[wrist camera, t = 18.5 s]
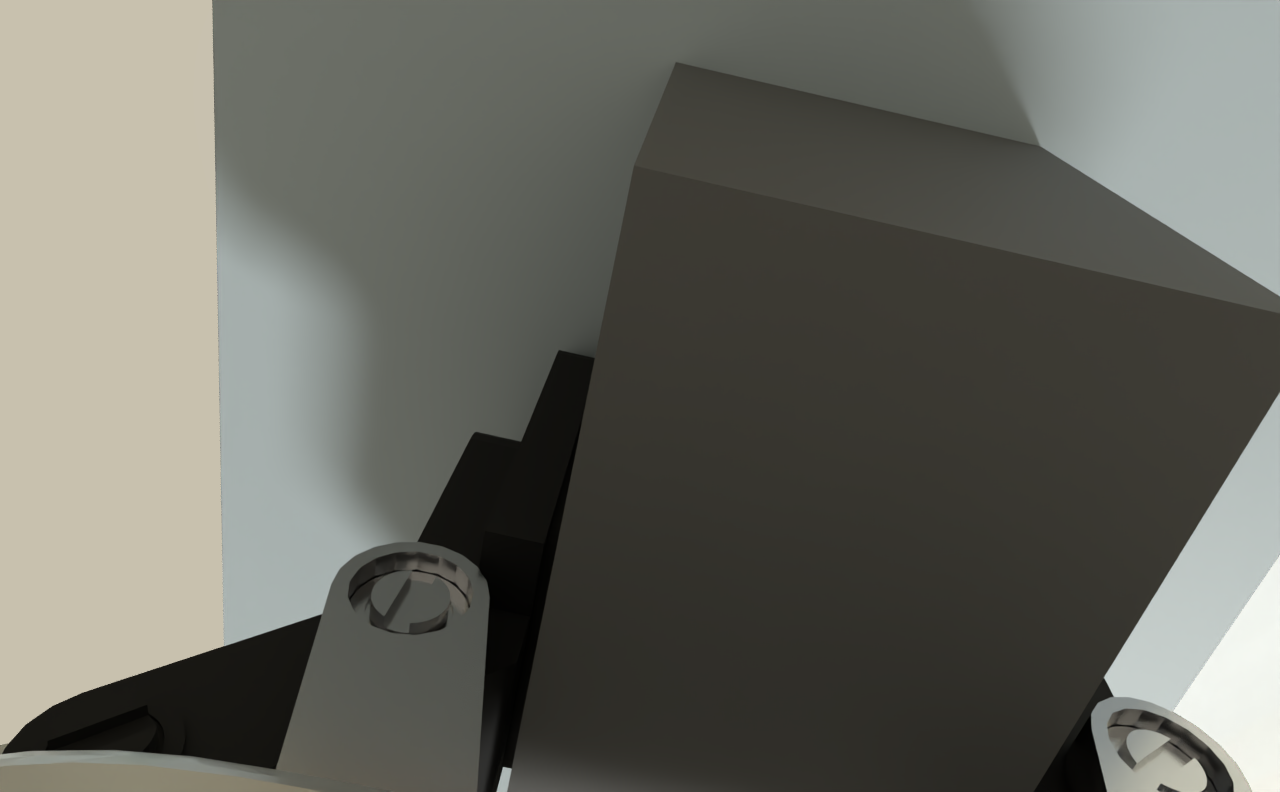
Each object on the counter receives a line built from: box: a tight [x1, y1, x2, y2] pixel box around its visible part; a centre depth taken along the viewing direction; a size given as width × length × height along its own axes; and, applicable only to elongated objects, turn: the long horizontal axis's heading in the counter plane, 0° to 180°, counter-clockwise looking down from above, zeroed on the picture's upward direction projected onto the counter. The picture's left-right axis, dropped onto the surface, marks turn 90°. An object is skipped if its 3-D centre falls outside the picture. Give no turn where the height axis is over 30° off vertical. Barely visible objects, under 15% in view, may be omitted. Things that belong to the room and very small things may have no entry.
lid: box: [212, 0, 1280, 792], centre depth 10 cm, size 22×14×7 cm, turn 168°
